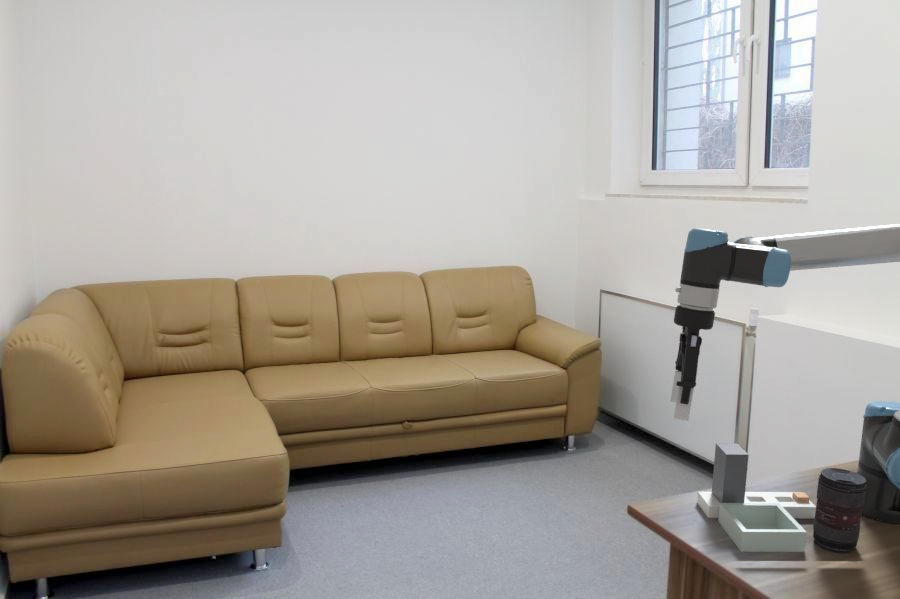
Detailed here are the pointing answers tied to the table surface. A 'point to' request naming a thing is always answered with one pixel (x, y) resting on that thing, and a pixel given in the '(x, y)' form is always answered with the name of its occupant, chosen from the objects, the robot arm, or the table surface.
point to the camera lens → (839, 509)
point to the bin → (762, 527)
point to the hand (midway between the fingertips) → (678, 410)
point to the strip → (790, 501)
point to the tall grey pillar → (729, 473)
